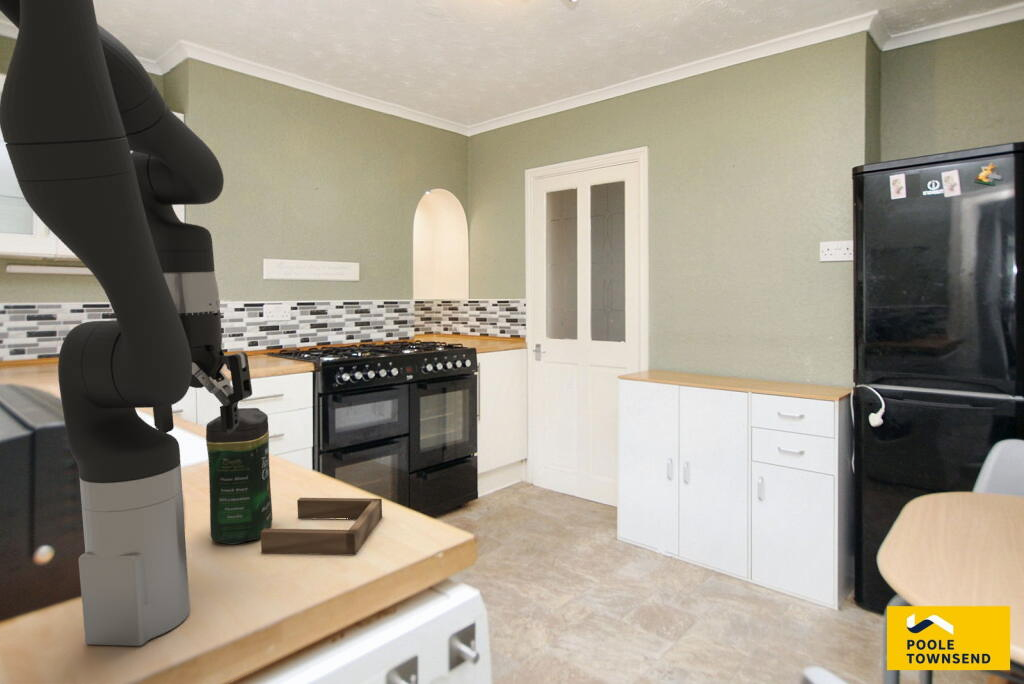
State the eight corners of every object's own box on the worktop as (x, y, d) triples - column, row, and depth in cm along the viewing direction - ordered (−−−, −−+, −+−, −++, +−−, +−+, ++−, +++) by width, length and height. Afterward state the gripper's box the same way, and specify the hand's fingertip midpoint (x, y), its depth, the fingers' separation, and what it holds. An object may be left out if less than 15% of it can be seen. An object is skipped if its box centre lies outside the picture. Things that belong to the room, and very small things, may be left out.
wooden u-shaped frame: (355, 554, 83) (354, 533, 82) (261, 552, 83) (260, 532, 83) (382, 516, 96) (381, 498, 96) (301, 515, 97) (300, 497, 96)
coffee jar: (263, 544, 86) (256, 416, 84) (204, 548, 85) (196, 419, 83) (279, 518, 96) (273, 403, 94) (226, 521, 95) (219, 405, 93)
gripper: (112, 311, 73) (125, 440, 76) (225, 310, 73) (235, 441, 75) (152, 306, 81) (163, 424, 83) (255, 305, 80) (264, 424, 82)
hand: (197, 432), depth 79 cm, fingers open, 8 cm apart
